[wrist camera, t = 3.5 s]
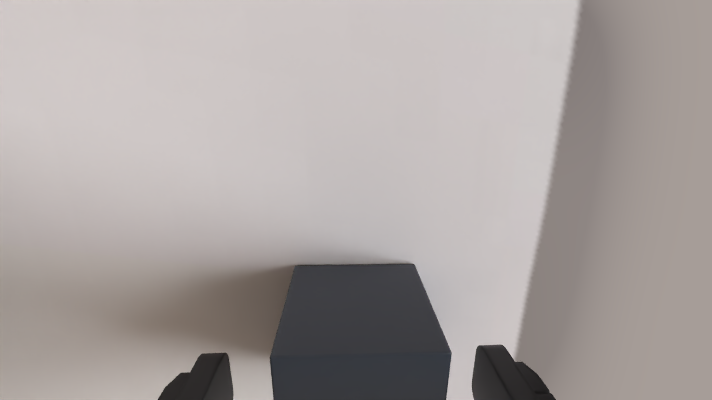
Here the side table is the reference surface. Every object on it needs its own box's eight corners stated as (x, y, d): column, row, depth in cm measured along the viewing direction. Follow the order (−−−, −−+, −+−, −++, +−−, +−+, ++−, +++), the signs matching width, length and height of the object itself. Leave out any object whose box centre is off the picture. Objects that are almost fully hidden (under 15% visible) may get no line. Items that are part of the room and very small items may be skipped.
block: (294, 265, 12) (269, 357, 8) (414, 263, 12) (452, 352, 8) (300, 361, 13) (280, 484, 9) (408, 358, 13) (437, 478, 9)
